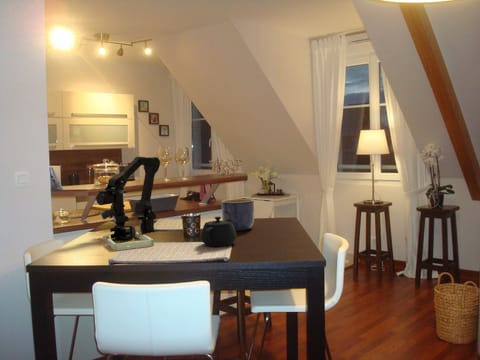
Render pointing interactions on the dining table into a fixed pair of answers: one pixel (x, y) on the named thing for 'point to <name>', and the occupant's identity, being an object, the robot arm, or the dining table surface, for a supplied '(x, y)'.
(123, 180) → the robot arm
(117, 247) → the tray
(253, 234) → the dining table surface
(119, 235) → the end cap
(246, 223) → the planter
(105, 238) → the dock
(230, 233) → the teapot
